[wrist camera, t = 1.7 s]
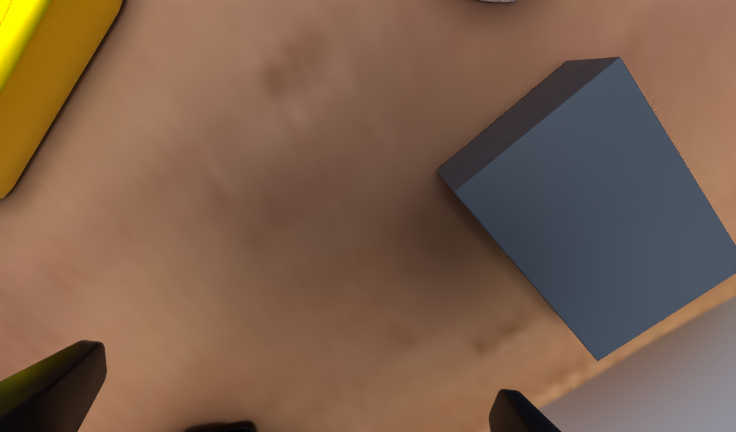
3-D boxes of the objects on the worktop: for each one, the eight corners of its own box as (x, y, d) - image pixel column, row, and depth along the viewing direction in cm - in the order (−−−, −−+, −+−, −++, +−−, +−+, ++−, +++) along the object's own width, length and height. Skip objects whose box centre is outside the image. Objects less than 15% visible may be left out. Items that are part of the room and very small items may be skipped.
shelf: (559, 315, 23) (597, 361, 20) (435, 170, 20) (453, 192, 16) (680, 232, 22) (748, 265, 18) (567, 60, 19) (620, 56, 15)
